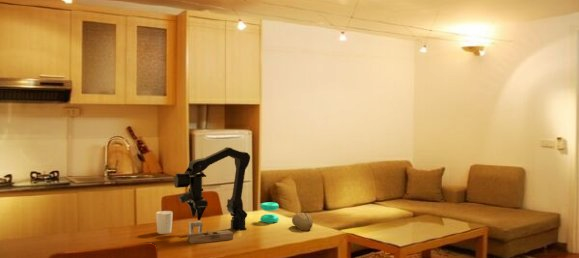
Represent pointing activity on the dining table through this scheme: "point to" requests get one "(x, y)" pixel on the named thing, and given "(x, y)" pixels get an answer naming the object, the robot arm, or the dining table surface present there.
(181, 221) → the dining table surface
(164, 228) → the white cup
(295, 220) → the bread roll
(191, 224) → the grey arch block
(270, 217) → the donuts
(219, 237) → the rail
